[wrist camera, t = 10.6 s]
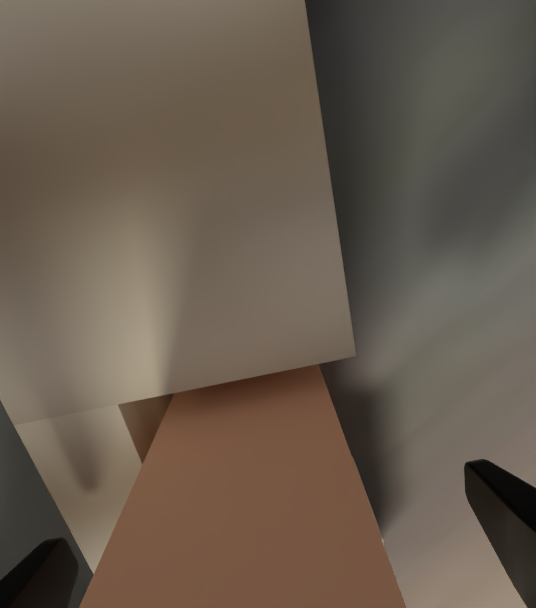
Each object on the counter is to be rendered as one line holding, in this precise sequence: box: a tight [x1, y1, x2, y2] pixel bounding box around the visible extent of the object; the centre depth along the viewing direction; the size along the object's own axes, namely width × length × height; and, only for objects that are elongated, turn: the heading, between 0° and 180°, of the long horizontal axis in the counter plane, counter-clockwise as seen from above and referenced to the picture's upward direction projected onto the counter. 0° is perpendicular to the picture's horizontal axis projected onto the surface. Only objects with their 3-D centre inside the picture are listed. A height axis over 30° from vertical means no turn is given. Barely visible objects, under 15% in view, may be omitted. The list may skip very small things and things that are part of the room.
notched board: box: [0, 0, 384, 574], centre depth 9 cm, size 20×8×3 cm, turn 12°
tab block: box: [79, 364, 406, 608], centre depth 7 cm, size 4×4×8 cm
